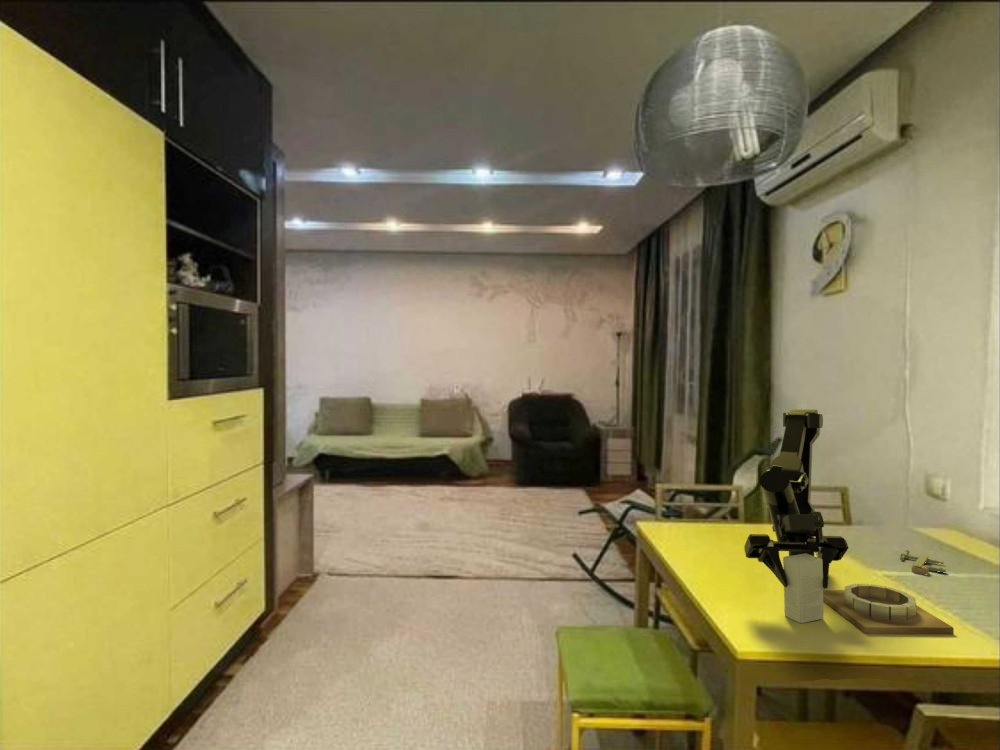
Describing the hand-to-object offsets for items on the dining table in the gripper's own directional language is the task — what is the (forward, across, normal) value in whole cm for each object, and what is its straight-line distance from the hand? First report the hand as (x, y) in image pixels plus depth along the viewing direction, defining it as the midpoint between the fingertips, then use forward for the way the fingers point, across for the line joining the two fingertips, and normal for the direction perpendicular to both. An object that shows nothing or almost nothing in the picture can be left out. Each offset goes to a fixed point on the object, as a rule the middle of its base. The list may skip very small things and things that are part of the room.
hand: (806, 587), depth 113 cm
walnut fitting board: (+1, +16, +8) cm, 18 cm away
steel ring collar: (0, +16, +7) cm, 17 cm away
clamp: (-20, +40, +31) cm, 54 cm away
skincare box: (+4, 0, +6) cm, 7 cm away
